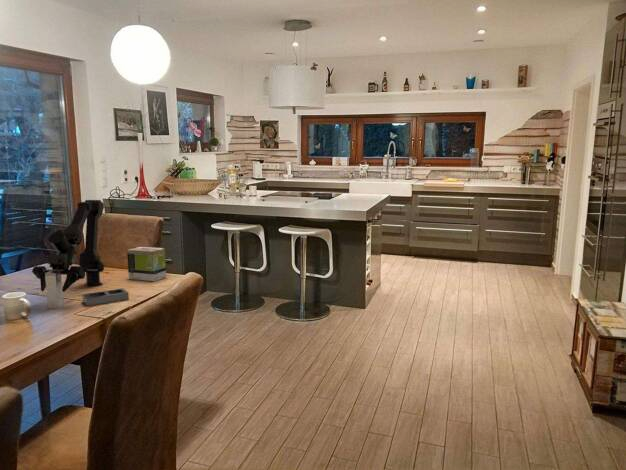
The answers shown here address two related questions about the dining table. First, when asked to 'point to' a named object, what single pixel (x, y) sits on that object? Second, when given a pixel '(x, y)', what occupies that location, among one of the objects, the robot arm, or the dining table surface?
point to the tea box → (146, 263)
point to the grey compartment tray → (105, 297)
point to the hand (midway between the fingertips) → (52, 291)
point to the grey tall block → (54, 289)
